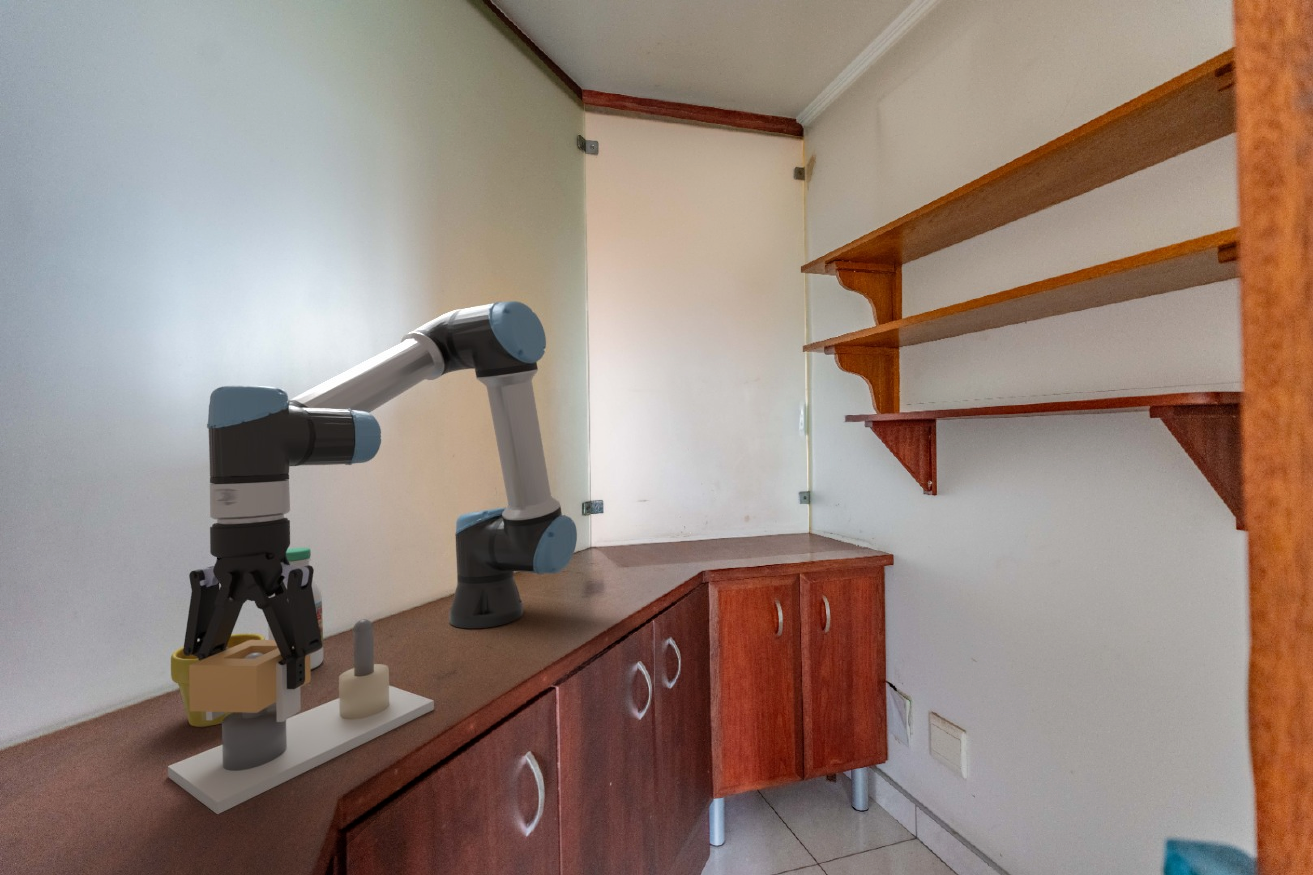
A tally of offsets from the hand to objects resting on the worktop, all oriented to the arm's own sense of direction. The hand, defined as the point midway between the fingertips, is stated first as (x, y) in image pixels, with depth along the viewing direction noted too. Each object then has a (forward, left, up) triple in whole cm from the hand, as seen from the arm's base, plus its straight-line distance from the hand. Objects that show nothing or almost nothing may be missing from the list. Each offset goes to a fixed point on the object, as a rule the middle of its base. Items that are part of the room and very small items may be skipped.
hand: (254, 714), depth 64 cm
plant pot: (-4, -19, -6) cm, 20 cm away
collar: (0, 0, +2) cm, 2 cm away
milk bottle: (-18, -28, -6) cm, 34 cm away
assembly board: (-7, 0, -6) cm, 9 cm away
